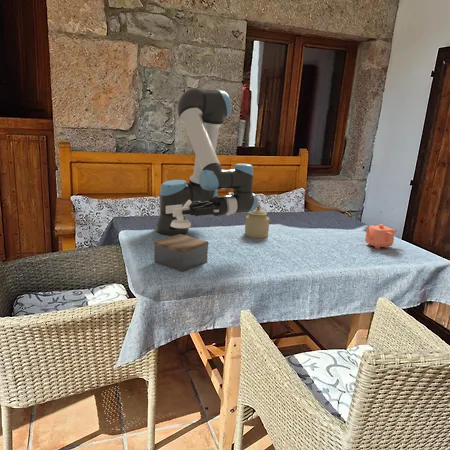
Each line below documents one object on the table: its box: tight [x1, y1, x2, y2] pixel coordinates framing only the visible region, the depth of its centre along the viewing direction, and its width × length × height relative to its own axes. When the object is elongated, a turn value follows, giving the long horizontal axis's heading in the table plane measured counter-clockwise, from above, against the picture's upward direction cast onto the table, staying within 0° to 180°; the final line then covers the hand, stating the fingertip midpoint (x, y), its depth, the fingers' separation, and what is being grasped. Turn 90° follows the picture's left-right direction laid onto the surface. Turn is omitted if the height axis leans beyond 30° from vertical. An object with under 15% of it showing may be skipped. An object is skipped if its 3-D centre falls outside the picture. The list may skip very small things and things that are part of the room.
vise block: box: [153, 234, 209, 273], centre depth 157 cm, size 14×14×8 cm
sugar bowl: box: [244, 203, 270, 239], centre depth 197 cm, size 15×11×15 cm
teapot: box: [364, 223, 397, 250], centre depth 189 cm, size 14×12×10 cm
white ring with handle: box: [170, 200, 192, 229], centre depth 153 cm, size 8×12×7 cm
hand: (169, 211), depth 149 cm, fingers closed on white ring with handle, 4 cm apart
